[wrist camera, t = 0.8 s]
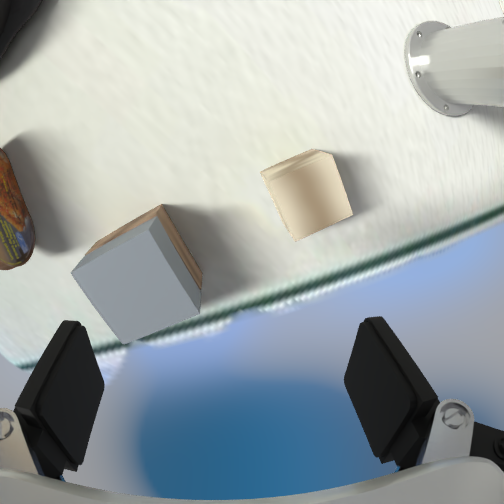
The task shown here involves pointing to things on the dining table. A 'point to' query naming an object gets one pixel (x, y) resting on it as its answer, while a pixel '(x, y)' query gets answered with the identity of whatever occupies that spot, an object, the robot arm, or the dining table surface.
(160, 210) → the walnut block
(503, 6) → the lidded jar
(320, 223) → the maple cube
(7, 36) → the casserole
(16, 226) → the tin
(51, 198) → the dining table surface
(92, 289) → the slate block
